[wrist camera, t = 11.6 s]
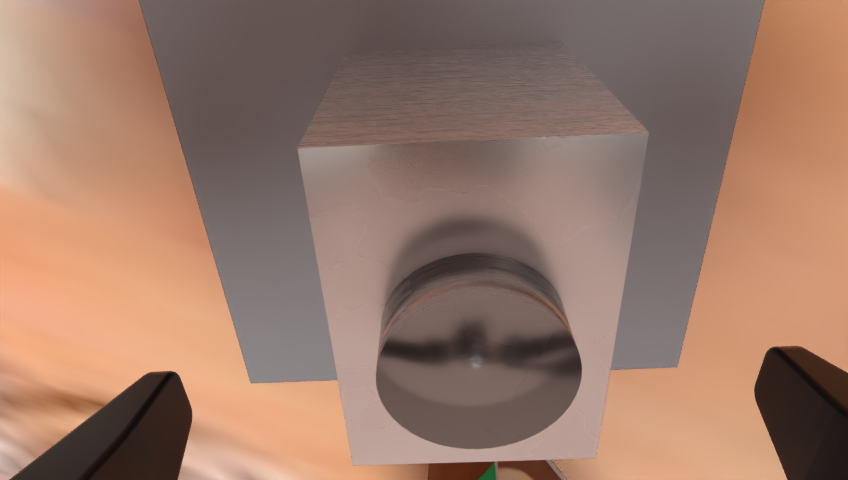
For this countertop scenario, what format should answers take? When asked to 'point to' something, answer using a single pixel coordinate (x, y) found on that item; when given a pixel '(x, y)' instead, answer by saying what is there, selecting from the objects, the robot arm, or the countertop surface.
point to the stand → (429, 28)
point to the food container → (496, 470)
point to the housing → (472, 248)
